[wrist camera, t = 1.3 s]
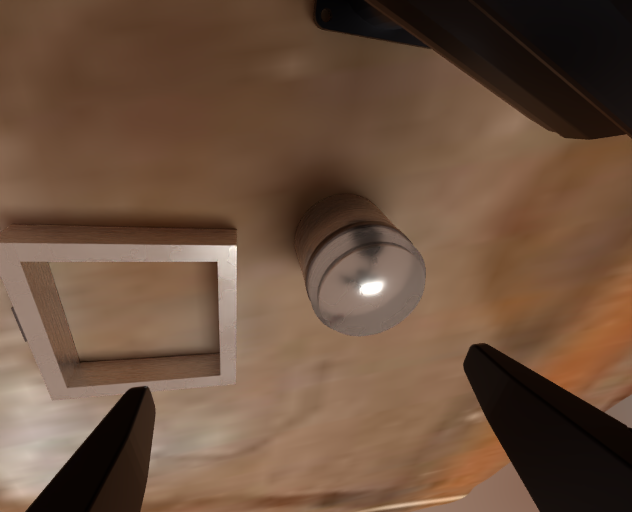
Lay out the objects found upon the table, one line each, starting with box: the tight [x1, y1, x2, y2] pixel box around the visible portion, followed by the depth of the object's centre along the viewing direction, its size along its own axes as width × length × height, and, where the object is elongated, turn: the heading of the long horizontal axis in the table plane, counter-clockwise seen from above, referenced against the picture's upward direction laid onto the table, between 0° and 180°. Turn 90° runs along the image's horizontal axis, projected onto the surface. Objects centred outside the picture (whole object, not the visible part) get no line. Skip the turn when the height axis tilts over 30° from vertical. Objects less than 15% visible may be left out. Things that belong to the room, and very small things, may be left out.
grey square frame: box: [0, 224, 237, 400], centre depth 19 cm, size 12×11×2 cm
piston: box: [294, 194, 426, 336], centre depth 18 cm, size 6×6×6 cm
